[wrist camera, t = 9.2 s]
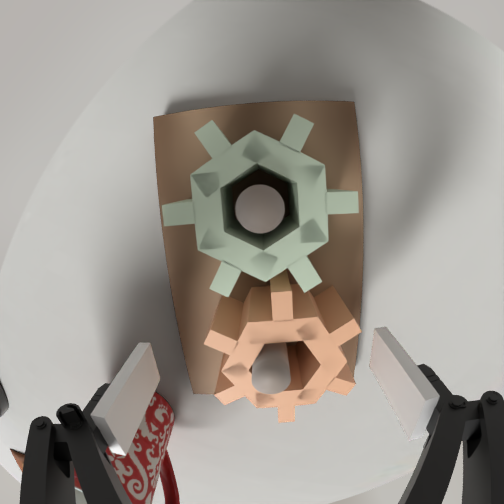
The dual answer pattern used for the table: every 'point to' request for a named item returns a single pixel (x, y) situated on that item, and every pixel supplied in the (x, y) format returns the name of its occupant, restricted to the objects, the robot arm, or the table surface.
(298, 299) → the gear
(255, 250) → the gear
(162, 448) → the mug
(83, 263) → the table surface
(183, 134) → the gear board
